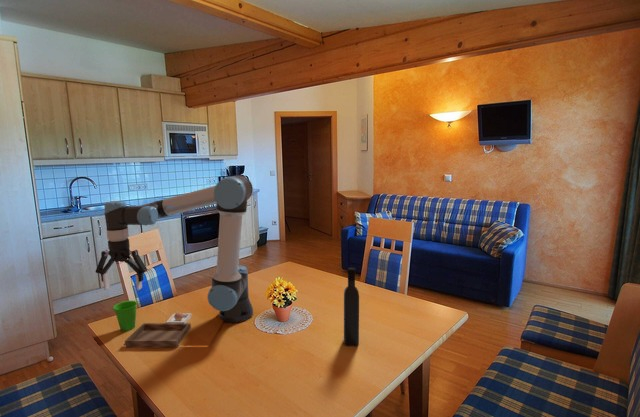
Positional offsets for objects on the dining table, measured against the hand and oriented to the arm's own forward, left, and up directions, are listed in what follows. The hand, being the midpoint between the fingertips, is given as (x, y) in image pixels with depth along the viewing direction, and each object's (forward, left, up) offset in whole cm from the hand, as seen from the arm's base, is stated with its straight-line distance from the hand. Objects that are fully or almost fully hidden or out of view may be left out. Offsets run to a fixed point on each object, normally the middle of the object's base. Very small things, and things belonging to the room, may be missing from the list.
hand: (123, 288), depth 145 cm
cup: (0, 0, -18) cm, 18 cm away
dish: (-19, -7, -18) cm, 27 cm away
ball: (-19, -7, -18) cm, 27 cm away
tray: (-17, +7, -18) cm, 26 cm away
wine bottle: (-94, +10, -18) cm, 96 cm away
